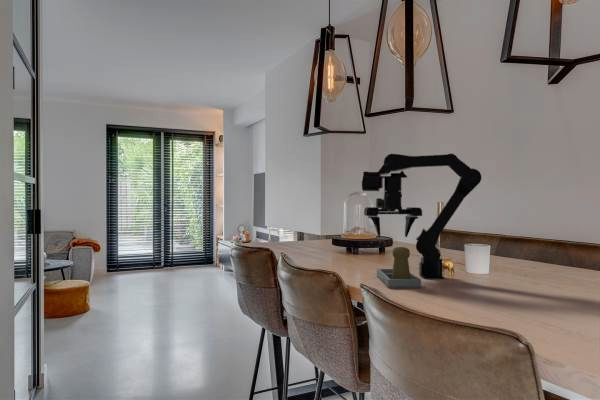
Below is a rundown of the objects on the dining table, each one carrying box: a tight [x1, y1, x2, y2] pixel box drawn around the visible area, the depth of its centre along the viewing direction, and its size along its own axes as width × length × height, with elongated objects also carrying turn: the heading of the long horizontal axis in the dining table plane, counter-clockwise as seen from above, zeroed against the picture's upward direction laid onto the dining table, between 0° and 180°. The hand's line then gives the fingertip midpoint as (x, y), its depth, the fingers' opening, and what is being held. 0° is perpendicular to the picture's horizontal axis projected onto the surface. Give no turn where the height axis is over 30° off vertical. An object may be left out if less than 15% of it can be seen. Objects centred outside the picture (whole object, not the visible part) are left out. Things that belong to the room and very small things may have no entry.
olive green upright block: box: [391, 246, 411, 279], centre depth 128 cm, size 6×6×11 cm
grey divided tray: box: [376, 268, 422, 289], centre depth 132 cm, size 10×18×2 cm, turn 0°
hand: (392, 236), depth 143 cm, fingers open, 9 cm apart
